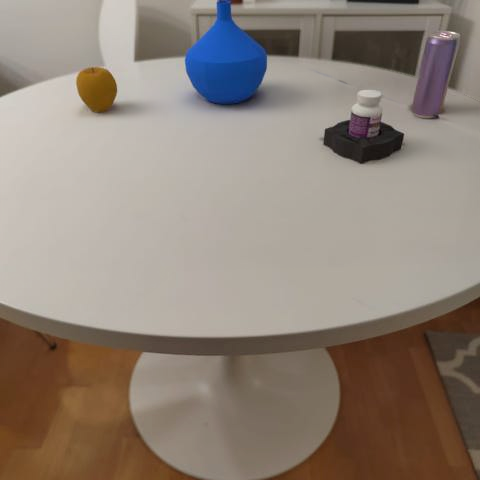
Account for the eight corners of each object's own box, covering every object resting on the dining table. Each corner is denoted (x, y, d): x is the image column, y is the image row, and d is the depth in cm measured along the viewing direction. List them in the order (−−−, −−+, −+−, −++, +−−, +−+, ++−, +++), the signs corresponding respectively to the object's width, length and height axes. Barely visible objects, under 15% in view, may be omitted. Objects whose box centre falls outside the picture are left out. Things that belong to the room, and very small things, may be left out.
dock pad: (406, 149, 83) (410, 133, 81) (360, 166, 79) (363, 150, 77) (362, 129, 90) (364, 114, 88) (317, 143, 86) (319, 128, 84)
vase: (186, 113, 100) (176, 12, 87) (190, 85, 113) (182, -5, 101) (269, 109, 100) (271, 9, 87) (263, 83, 114) (264, -8, 101)
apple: (129, 107, 103) (121, 65, 98) (101, 119, 98) (91, 76, 92) (102, 100, 107) (93, 60, 101) (74, 112, 102) (63, 70, 96)
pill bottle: (370, 155, 82) (379, 100, 75) (342, 149, 84) (349, 95, 78) (380, 144, 85) (389, 90, 79) (352, 138, 87) (360, 86, 81)
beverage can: (427, 121, 93) (447, 39, 83) (404, 112, 96) (421, 33, 87) (446, 114, 95) (468, 34, 85) (423, 106, 99) (441, 29, 89)
